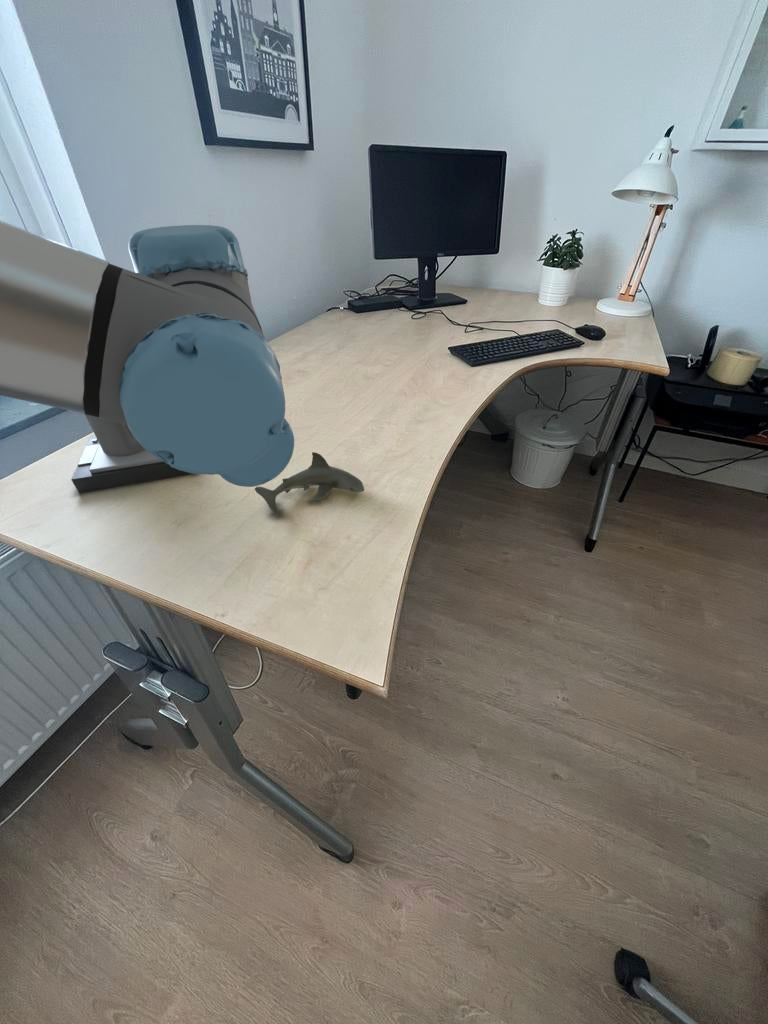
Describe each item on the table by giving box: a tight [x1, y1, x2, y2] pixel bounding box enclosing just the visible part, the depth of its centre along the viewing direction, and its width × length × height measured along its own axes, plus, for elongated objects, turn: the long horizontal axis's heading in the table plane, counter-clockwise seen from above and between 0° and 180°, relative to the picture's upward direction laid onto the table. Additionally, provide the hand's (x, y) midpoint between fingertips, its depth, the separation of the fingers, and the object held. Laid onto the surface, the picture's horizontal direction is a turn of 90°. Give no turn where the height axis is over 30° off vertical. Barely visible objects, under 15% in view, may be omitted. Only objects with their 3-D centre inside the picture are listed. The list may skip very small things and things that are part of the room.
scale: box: [70, 435, 195, 494], centre depth 86 cm, size 20×16×4 cm
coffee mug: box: [84, 414, 146, 456], centre depth 81 cm, size 13×10×10 cm
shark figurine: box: [254, 451, 365, 517], centre depth 75 cm, size 14×17×8 cm
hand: (141, 343), depth 59 cm, fingers open, 13 cm apart
